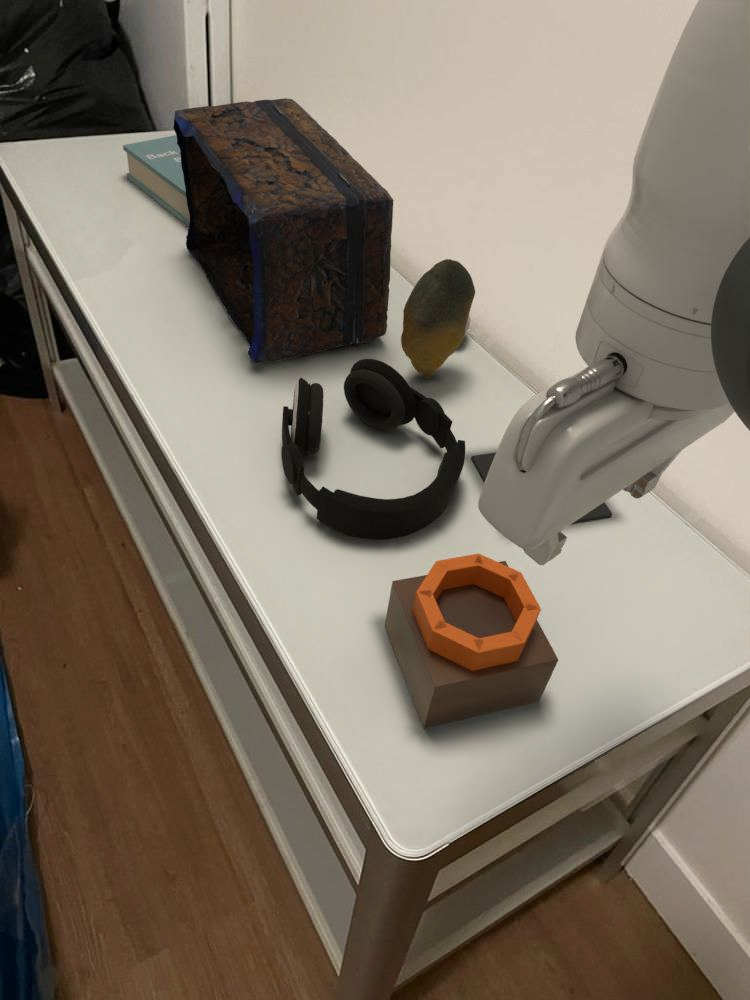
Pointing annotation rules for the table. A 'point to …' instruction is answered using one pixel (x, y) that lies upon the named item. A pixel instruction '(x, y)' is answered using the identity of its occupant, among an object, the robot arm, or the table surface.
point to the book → (159, 173)
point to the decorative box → (285, 227)
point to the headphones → (382, 406)
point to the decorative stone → (437, 315)
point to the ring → (461, 643)
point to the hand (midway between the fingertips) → (589, 519)
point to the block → (450, 686)
